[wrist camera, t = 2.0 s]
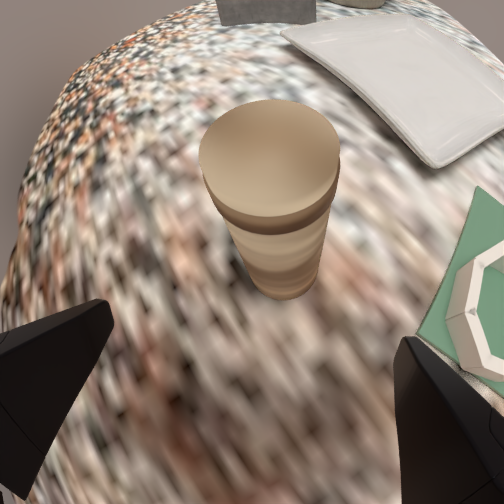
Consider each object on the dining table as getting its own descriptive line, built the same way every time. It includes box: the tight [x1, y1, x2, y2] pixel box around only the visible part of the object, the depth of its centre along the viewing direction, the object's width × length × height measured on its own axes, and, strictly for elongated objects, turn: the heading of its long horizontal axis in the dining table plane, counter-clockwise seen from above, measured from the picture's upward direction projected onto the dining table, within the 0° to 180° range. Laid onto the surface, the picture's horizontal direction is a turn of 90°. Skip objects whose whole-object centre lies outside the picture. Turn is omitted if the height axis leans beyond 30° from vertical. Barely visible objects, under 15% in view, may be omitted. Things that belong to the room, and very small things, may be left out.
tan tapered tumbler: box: [199, 100, 340, 300], centre depth 16 cm, size 5×5×13 cm
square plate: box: [280, 14, 504, 169], centre depth 27 cm, size 27×27×4 cm
